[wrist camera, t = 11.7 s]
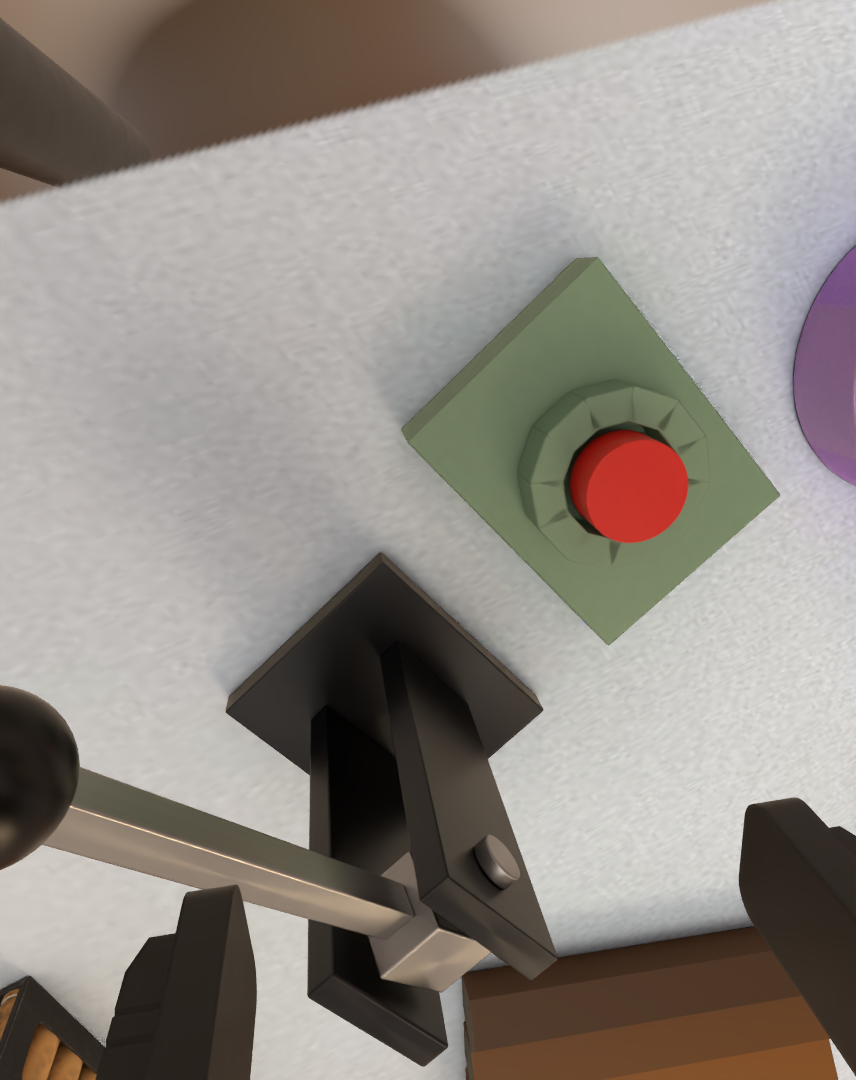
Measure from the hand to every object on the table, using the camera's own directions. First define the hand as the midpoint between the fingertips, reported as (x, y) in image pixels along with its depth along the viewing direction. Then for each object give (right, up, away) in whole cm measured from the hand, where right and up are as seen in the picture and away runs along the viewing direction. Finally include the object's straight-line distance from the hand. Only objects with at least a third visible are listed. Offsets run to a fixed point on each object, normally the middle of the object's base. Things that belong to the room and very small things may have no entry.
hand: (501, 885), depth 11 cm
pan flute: (+13, -27, +32) cm, 44 cm away
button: (+6, +8, +15) cm, 18 cm away
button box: (+5, +9, +18) cm, 21 cm away
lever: (-6, -1, +7) cm, 9 cm away
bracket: (-3, -1, +21) cm, 21 cm away
